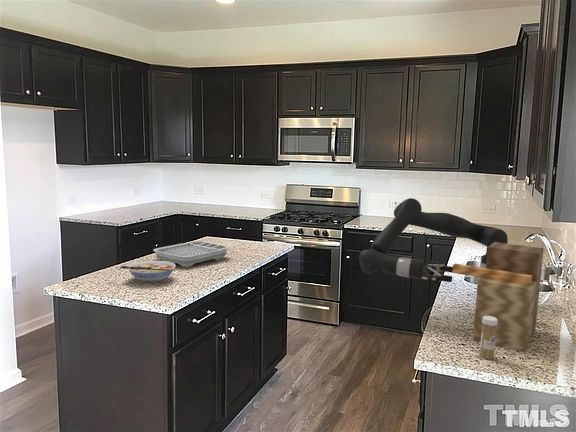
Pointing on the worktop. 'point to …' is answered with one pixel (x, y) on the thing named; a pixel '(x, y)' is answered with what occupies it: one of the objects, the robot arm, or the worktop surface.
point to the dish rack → (191, 252)
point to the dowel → (492, 274)
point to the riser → (510, 295)
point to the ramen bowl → (151, 270)
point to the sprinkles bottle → (488, 337)
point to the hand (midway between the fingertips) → (453, 274)
